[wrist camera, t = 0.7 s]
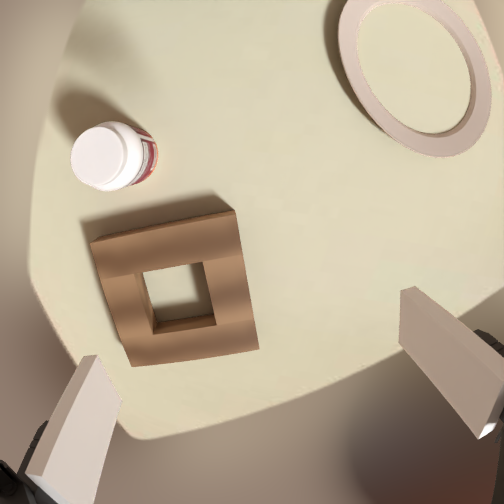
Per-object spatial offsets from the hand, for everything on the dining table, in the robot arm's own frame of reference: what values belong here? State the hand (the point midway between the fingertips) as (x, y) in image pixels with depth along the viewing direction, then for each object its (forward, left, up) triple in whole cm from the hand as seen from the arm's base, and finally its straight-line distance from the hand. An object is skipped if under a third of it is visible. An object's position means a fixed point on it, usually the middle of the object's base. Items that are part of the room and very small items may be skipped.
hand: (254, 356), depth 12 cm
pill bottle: (-10, -9, -24) cm, 28 cm away
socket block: (+6, -7, -24) cm, 26 cm away
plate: (-18, +28, -24) cm, 41 cm away
